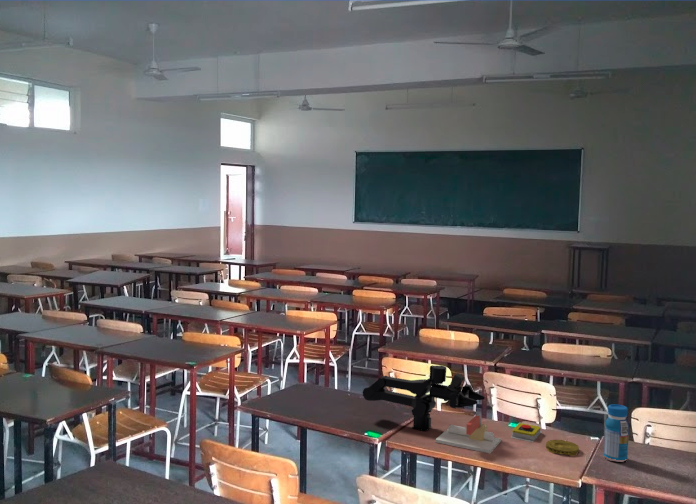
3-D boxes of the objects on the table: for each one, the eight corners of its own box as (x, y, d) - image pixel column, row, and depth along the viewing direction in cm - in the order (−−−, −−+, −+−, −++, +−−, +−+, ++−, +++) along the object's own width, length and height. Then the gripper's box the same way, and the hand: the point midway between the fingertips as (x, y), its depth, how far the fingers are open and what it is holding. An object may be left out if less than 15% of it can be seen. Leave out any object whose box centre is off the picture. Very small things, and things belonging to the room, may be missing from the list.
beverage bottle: (603, 461, 232) (605, 408, 231) (603, 453, 240) (605, 402, 239) (628, 465, 229) (630, 411, 228) (627, 457, 237) (629, 405, 236)
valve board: (435, 442, 248) (435, 426, 248) (448, 431, 261) (448, 416, 261) (490, 453, 237) (490, 437, 237) (500, 441, 251) (501, 426, 250)
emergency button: (510, 428, 255) (520, 418, 268) (510, 438, 255) (520, 428, 268) (533, 432, 250) (542, 422, 263) (533, 443, 250) (542, 432, 263)
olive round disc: (546, 443, 250) (547, 437, 250) (578, 447, 246) (579, 442, 246) (545, 453, 239) (545, 448, 239) (578, 458, 235) (578, 453, 235)
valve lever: (476, 423, 252) (476, 413, 251) (481, 424, 250) (482, 414, 250) (465, 434, 239) (465, 423, 239) (471, 435, 238) (471, 424, 238)
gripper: (437, 376, 250) (475, 384, 242) (453, 369, 266) (489, 376, 258) (435, 404, 250) (473, 412, 243) (451, 395, 266) (487, 403, 259)
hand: (481, 400), depth 251 cm, fingers open, 9 cm apart
